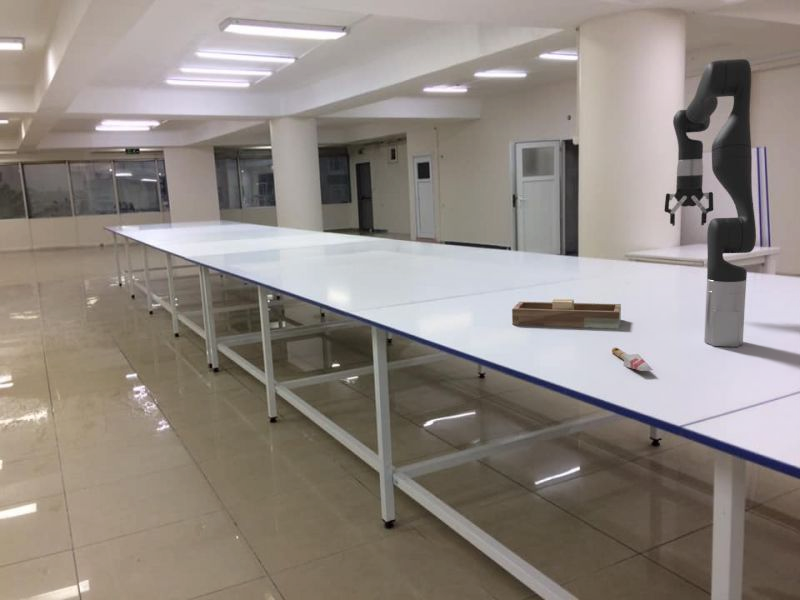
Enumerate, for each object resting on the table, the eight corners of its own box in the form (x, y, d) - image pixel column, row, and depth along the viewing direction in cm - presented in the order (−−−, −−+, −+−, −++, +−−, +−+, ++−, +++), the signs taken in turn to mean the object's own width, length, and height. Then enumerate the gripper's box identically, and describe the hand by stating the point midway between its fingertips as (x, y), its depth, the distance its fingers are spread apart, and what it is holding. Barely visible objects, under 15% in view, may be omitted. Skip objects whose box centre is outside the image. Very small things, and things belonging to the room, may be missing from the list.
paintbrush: (638, 364, 144) (608, 346, 164) (638, 376, 145) (608, 356, 165) (655, 363, 144) (622, 345, 164) (655, 375, 145) (622, 355, 165)
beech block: (571, 314, 197) (572, 302, 196) (552, 314, 199) (552, 301, 198) (573, 311, 201) (573, 299, 200) (554, 310, 203) (554, 298, 203)
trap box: (618, 328, 189) (619, 312, 188) (512, 324, 201) (512, 309, 200) (620, 319, 200) (620, 304, 199) (519, 316, 212) (519, 301, 211)
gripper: (665, 175, 200) (663, 226, 203) (715, 173, 195) (713, 225, 198) (665, 175, 207) (664, 224, 210) (713, 173, 201) (711, 224, 204)
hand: (687, 225), depth 204 cm, fingers open, 8 cm apart
